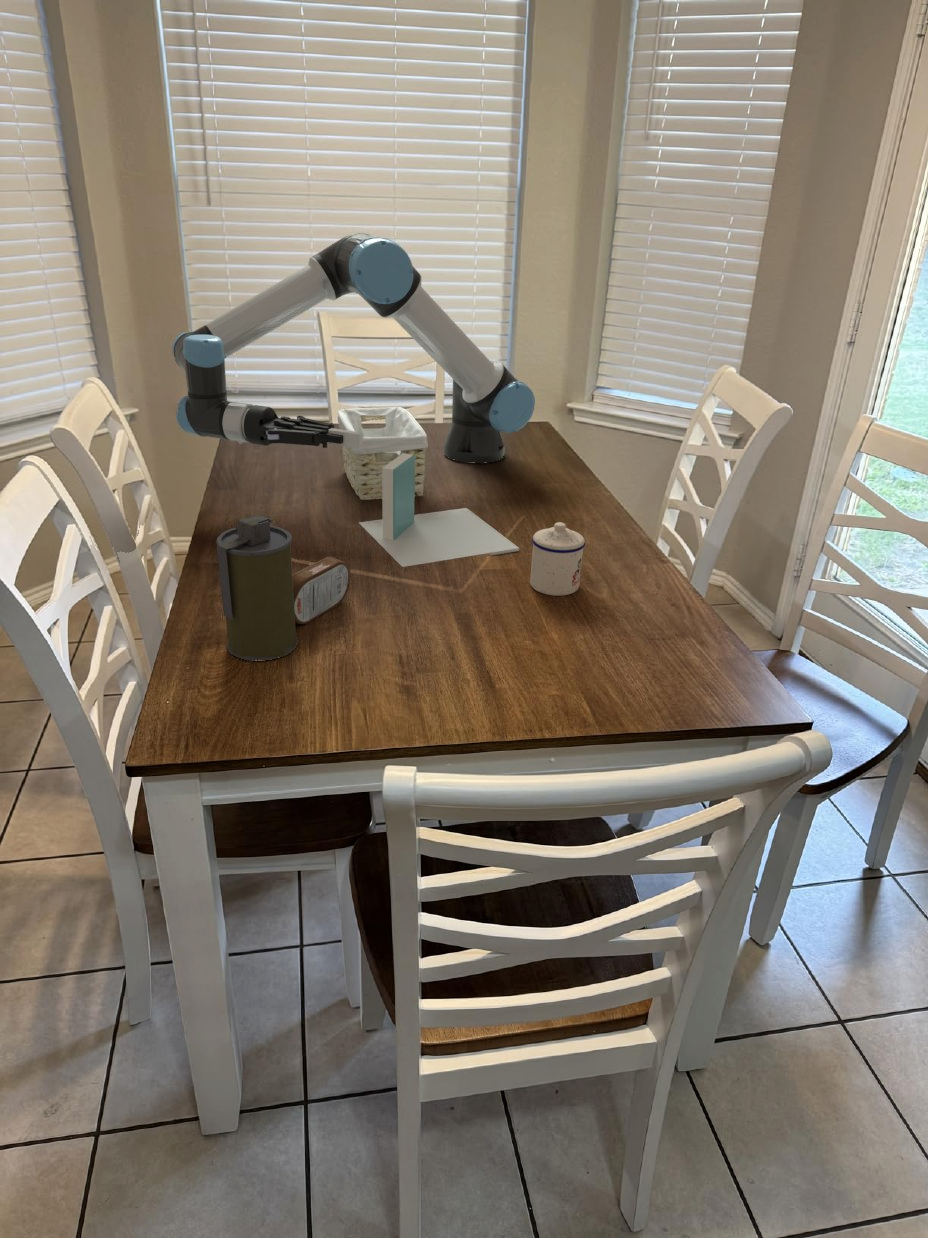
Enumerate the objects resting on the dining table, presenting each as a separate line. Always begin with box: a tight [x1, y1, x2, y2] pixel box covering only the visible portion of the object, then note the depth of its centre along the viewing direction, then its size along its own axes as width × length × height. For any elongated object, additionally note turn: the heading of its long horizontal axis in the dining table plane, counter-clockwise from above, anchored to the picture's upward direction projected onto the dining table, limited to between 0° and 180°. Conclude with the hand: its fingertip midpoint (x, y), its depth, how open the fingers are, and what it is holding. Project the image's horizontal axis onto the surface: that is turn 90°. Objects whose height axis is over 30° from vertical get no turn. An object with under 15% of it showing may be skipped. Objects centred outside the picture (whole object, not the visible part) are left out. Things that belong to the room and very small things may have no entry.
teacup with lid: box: [529, 521, 586, 597], centre depth 153 cm, size 12×9×12 cm
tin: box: [292, 556, 351, 625], centre depth 140 cm, size 15×3×8 cm, turn 149°
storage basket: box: [337, 406, 429, 500], centre depth 195 cm, size 24×16×15 cm
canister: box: [215, 514, 299, 661], centre depth 128 cm, size 11×10×20 cm
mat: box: [358, 507, 520, 568], centre depth 172 cm, size 24×23×1 cm
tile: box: [381, 453, 415, 540], centre depth 170 cm, size 2×10×14 cm, turn 161°
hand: (360, 440), depth 167 cm, fingers closed
